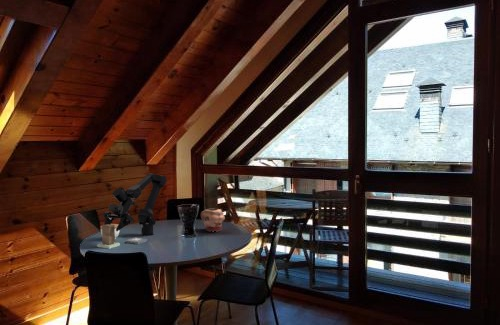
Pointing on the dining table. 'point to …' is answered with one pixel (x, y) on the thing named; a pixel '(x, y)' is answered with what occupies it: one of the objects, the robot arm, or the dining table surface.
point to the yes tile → (108, 245)
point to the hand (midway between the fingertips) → (110, 230)
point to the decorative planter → (212, 219)
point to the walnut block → (108, 234)
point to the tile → (136, 240)
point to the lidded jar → (115, 230)
